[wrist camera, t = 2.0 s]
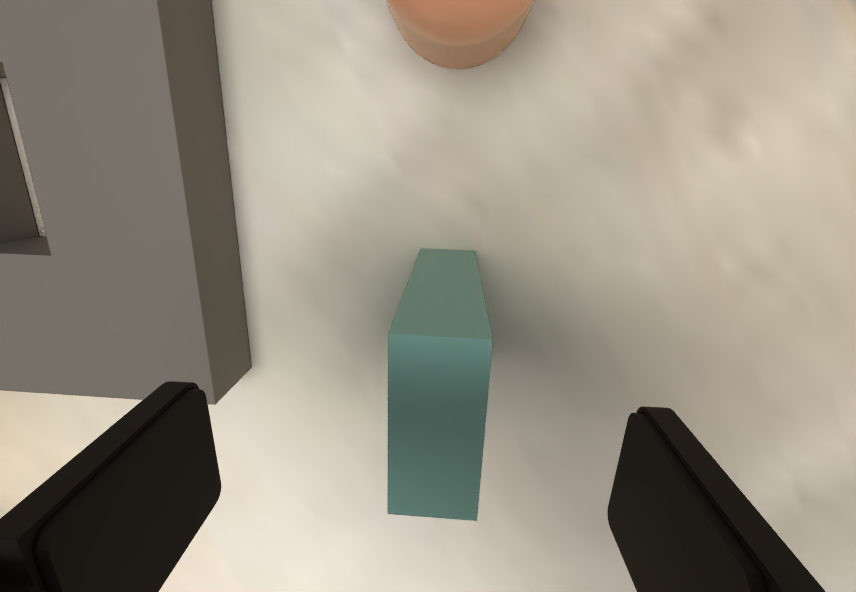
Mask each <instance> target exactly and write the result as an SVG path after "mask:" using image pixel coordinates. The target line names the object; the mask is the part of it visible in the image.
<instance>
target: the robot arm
mask: <svg viewBox="0 0 856 592" xmlns="http://www.w3.org/2000/svg"><path fill="white" fill-rule="evenodd" d="M220 492H221V480H220V474H219V469H218V463H217V457H216V451H215V445H214V439H213V433H212V428H211V422H210V416H209V410H208V404H207V398H206V394H205V392H204V391H203V390H201V389H199V387H198V385H197V384H196V383H193V382H176V381H167V382H165V383H163V384H162V385H160V386H159V387H158V388H157V389H156V390H154V391H153V392H152V393H151V394H150V395H148V396H147V397H146V398H145V399H144V400H142V401H141V402H140V403H139V404H138V405H136V406H135V407H134V408H133V409H132V410H130V411H129V412H128V413H127V414H126V415H124V416H123V417H122V418H121V419H120V420H118V421H117V422H116V423H115V424H114V425H112V426H111V427H110V428H109V429H108V430H106V431H105V432H104V433H103V434H102V435H100V436H99V437H98V438H97V439H96V440H94V441H93V442H92V443H91V444H90V445H88V446H87V447H86V448H85V449H84V450H82V451H81V452H80V453H79V454H78V455H76V456H75V457H74V458H73V459H72V460H70V461H69V462H68V463H67V464H66V465H64V466H63V467H62V468H61V469H60V470H58V471H57V472H56V473H55V474H54V475H52V476H51V477H50V478H49V479H48V480H46V481H45V482H44V483H43V484H42V485H40V486H39V487H38V488H37V489H36V490H34V491H33V492H32V493H31V494H29V495H28V496H27V497H26V498H25V499H23V500H22V501H21V502H20V503H19V504H17V505H16V506H15V507H14V508H13V509H11V510H10V511H9V512H8V513H7V514H5V515H4V516H3V517H2V518H1V519H0V592H159V590H160V589H161V587H162V585H163V584H164V582H165V581H166V579H167V578H168V576H169V575H170V573H171V572H172V570H173V569H174V567H175V565H176V564H177V562H178V561H179V559H180V558H181V556H182V555H183V553H184V552H185V550H186V549H187V547H188V546H189V544H190V542H191V541H192V539H193V538H194V536H195V535H196V533H197V532H198V530H199V529H200V527H201V526H202V524H203V523H204V521H205V519H206V518H207V516H208V515H209V513H210V512H211V510H212V509H213V507H214V506H215V504H216V502H217V501H218V498H219V496H220ZM608 521H609V525H610V528H611V531H612V533H613V535H614V538H615V540H616V543H617V545H618V547H619V550H620V552H621V555H622V557H623V559H624V562H625V564H626V566H627V569H628V571H629V574H630V576H631V578H632V581H633V583H634V585H635V588H636V590H637V592H825V590H824V589H823V588H822V587H821V586H820V585H819V583H818V582H817V581H816V580H815V579H814V577H813V576H812V575H811V574H810V573H809V571H808V570H807V569H806V568H805V567H804V566H803V564H802V563H801V562H800V561H799V560H798V558H797V557H796V556H795V555H794V554H793V552H792V551H791V550H790V549H789V548H788V547H787V545H786V544H785V543H784V542H783V541H782V539H781V538H780V537H779V536H778V535H777V533H776V532H775V531H774V530H773V529H772V527H771V526H770V525H769V524H768V523H767V522H766V520H765V519H764V518H763V517H762V516H761V514H760V513H759V512H758V511H757V510H756V508H755V507H754V506H753V505H752V504H751V503H750V501H749V500H748V499H747V498H746V497H745V495H744V494H743V493H742V492H741V491H740V489H739V488H738V487H737V486H736V485H735V484H734V482H733V481H732V480H731V479H730V478H729V476H728V475H727V474H726V473H725V472H724V470H723V469H722V468H721V467H720V466H719V464H718V463H717V462H716V461H715V460H714V459H713V457H712V456H711V455H710V454H709V453H708V451H707V450H706V449H705V448H704V447H703V445H702V444H701V443H700V442H699V441H698V440H697V438H696V437H695V436H694V435H693V434H692V432H691V431H690V430H689V429H688V428H687V426H686V425H685V424H684V423H683V422H682V421H681V419H680V418H679V417H678V416H677V415H676V413H675V412H674V411H673V410H672V409H670V408H661V407H640V408H639V409H638V410H637V413H631V414H630V416H629V418H628V422H627V426H626V431H625V435H624V439H623V444H622V448H621V453H620V457H619V461H618V466H617V470H616V475H615V479H614V483H613V488H612V492H611V497H610V501H609V505H608Z"/></svg>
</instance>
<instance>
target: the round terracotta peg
mask: <svg viewBox="0 0 856 592" xmlns="http://www.w3.org/2000/svg"><path fill="white" fill-rule="evenodd" d="M386 2H387V4H388V6H389V8H390V11H391V13H392V15H393V17H394V19H395V22H396V24H397V26H398V28H399V30H400V32H401V34H402V36H403V37H404V39H405V40H406V41H407V43H408V44H409V46H410V47H411V48H412V49H413V50H414V51H415V52H416V53H418V54H419V55H420V56H421V57H423V58H424V59H426V60H427V61H429V62H431V63H433V64H436V65H438V66H441V67H445V68H452V69H465V68H471V67H475V66H478V65H481V64H483V63H485V62H487V61H489V60H491V59H493V58H494V57H496V56H497V55H498V54H500V53H501V52H502V51H503V50H504V49H505V48H506V47H507V46H508V45H509V44H510V43H511V42H512V41H513V39H514V38H515V36H516V35H517V33H518V32H519V30H520V28H521V26H522V24H523V23H524V20H525V18H526V16H527V14H528V12H529V10H530V8H531V6H532V4H533V2H534V0H386Z"/></svg>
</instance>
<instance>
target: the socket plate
mask: <svg viewBox="0 0 856 592" xmlns="http://www.w3.org/2000/svg"><path fill="white" fill-rule="evenodd" d="M0 77H5V78H7V81H8V85H9V89H10V93H11V97H12V101H13V105H14V109H15V113H16V117H17V121H18V125H19V129H20V133H21V137H22V141H23V145H24V149H25V153H26V157H27V161H28V165H29V169H30V172H31V176H32V180H33V184H34V188H35V192H36V196H37V200H38V204H39V208H40V212H41V216H42V220H43V224H44V228H45V232H46V236H47V237H43V236H39V234H38V230H37V227H36V223H35V219H34V215H33V211H32V207H31V203H30V199H29V196H28V192H27V188H26V184H25V180H24V176H23V172H22V168H21V165H20V161H19V157H18V153H17V149H16V145H15V141H14V137H13V134H12V130H11V126H10V122H9V118H8V114H7V110H6V106H5V103H4V99H3V95H2V91H1V87H0V390H4V391H19V392H34V393H49V394H64V395H79V396H94V397H109V398H124V399H139V400H144V399H145V398H146V397H147V396H148V395H150V394H151V393H152V392H153V391H154V390H156V389H157V388H158V387H159V386H160V385H162V384H163V383H165V382H167V381H176V382H193V383H196V384H197V385H198V387H199V389H201V390H203V391H204V392H205V394H206V398H207V404H214V405H215V404H216V403H217V402H218V401H219V400H220V399H221V398H222V397H223V396H224V395H225V394H226V393H227V392H228V391H229V390H230V389H231V388H232V387H233V386H234V385H235V384H236V383H237V382H238V381H239V380H240V379H241V378H242V377H243V376H244V375H245V374H246V373H247V372H248V371H249V370H250V369H251V359H250V350H249V341H248V331H247V322H246V313H245V304H244V295H243V286H242V277H241V268H240V259H239V250H238V241H237V232H236V223H235V213H234V204H233V195H232V186H231V177H230V168H229V159H228V150H227V141H226V132H225V123H224V114H223V105H222V95H221V86H220V77H219V68H218V59H217V50H216V41H215V32H214V23H213V14H212V5H211V0H0Z"/></svg>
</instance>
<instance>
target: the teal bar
mask: <svg viewBox="0 0 856 592" xmlns="http://www.w3.org/2000/svg"><path fill="white" fill-rule="evenodd" d="M492 342H493V338H492V333H491V328H490V323H489V318H488V313H487V309H486V304H485V299H484V294H483V289H482V284H481V279H480V274H479V269H478V264H477V259H476V254H475V251H464V250H442V249H421V250H420V253H419V255H418V258H417V260H416V263H415V265H414V268H413V271H412V273H411V276H410V278H409V281H408V284H407V286H406V289H405V291H404V294H403V297H402V299H401V302H400V304H399V307H398V310H397V312H396V315H395V317H394V320H393V323H392V325H391V328H390V330H389V333H388V514H395V515H409V516H422V517H435V518H448V519H461V520H474V521H477V513H478V502H479V490H480V479H481V468H482V456H483V445H484V433H485V422H486V411H487V399H488V388H489V377H490V365H491V354H492Z"/></svg>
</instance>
